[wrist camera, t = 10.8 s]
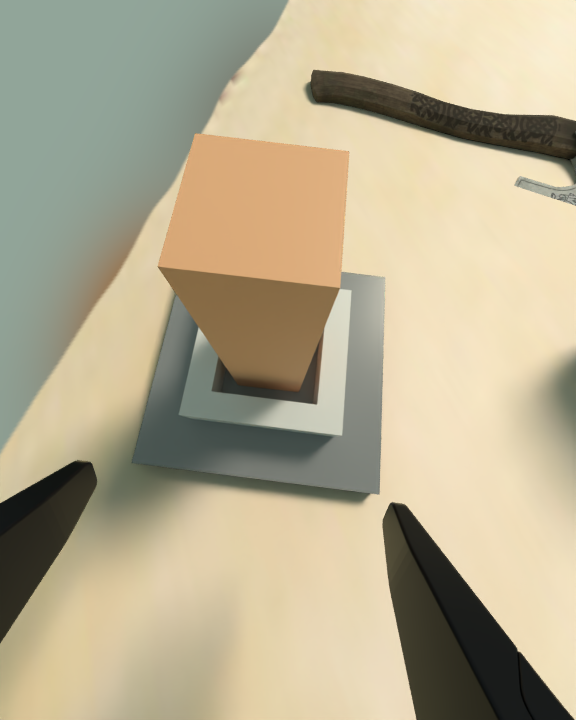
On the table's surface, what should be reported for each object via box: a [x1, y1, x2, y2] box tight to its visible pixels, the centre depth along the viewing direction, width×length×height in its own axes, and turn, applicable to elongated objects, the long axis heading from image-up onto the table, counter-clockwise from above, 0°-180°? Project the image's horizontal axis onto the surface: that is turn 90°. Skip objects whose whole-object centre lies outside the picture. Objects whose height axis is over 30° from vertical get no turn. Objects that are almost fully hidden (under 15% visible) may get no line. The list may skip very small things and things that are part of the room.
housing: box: [132, 272, 385, 494], centre depth 19 cm, size 15×15×4 cm
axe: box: [311, 70, 576, 205], centre depth 27 cm, size 11×3×30 cm
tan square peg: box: [158, 134, 349, 392], centre depth 13 cm, size 4×4×13 cm
